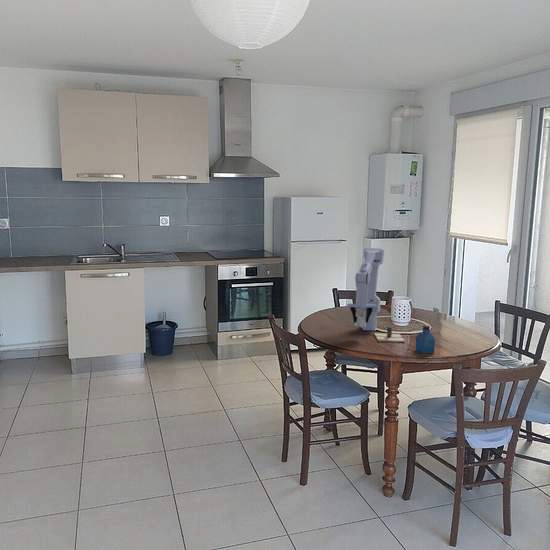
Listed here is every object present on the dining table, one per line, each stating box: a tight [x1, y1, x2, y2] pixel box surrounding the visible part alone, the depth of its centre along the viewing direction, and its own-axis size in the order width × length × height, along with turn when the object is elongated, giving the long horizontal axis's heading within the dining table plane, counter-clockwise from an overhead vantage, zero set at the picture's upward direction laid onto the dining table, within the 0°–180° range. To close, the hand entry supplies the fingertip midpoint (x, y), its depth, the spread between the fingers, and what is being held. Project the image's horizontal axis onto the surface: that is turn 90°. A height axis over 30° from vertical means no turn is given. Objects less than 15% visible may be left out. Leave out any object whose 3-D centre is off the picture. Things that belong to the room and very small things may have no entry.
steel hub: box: [354, 313, 367, 328], centre depth 268 cm, size 6×6×5 cm
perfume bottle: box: [415, 325, 436, 354], centre depth 250 cm, size 6×6×12 cm
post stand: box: [373, 326, 406, 343], centre depth 270 cm, size 13×13×6 cm
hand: (360, 322), depth 268 cm, fingers closed on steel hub, 5 cm apart
